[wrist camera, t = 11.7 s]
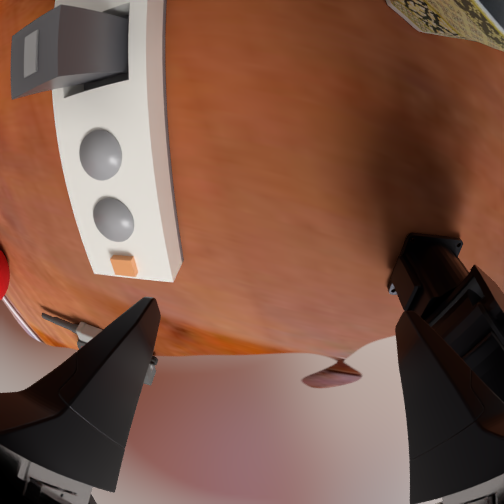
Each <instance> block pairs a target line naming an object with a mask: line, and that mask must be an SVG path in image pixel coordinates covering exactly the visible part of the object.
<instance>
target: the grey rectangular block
mask: <svg viewBox="0 0 504 504" xmlns="http://www.w3.org/2000/svg"><path fill="white" fill-rule="evenodd" d="M128 34H129V19H125V18H122V17H118V16H115V15H111V14H107V13H103V12H99V11H94V10H90V9H85V8H80V7H74V6H68V5H62V4H61V5H59V6H57V7H56V8H54V9H52V10H50V11H49V12H47V13H45V14H44V15H42V16H41V17H39V18H38V19H36V20H34V21H33V22H32V23H30V24H29V25H27V26H26V27H24V28H23V29H21V30H20V31H19V32H17V33H16V34H15V35H13V36H12V46H11V95H12V100H13V99H16V98H20V97H23V96H27V95H31V94H35V93H39V92H43V91H48V90H53V89H58V88H63V87H68V86H74V85H81V84H88V83H93V82H97V81H100V80H104V79H107V78H111V77H115V76H119V75H123V74H127V73H129V65H128Z"/></svg>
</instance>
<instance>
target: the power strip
mask: <svg viewBox="0 0 504 504" xmlns="http://www.w3.org/2000/svg"><path fill="white" fill-rule="evenodd" d="M61 4H62V5H68V6H74V7H80V8H85V9H90V10H94V11H99V12H103V13H107V14H111V15H115V16H118V17H122V18H125V19H129V34H128V65H129V73H127V74H123V75H119V76H115V77H111V78H107V79H104V80H100V81H97V82H93V83H88V84H81V85H74V86H68V87H63V88H58V89H53V90H52V96H53V108H54V118H55V126H56V133H57V140H58V146H59V152H60V157H61V162H62V167H63V172H64V177H65V181H66V185H67V190H68V194H69V198H70V201H71V205H72V209H73V212H74V216H75V219H76V223H77V226H78V229H79V232H80V235H81V238H82V241H83V244H84V247H85V250H86V253H87V256H88V258H89V261H90V264H91V267H92V269H93V272H94V274H102V275H110V276H118V277H127V278H136V279H145V280H155V281H165V282H174V280H175V278H176V275H177V273H178V271H179V269H180V267H181V265H182V262H183V260H184V259H183V253H182V246H181V240H180V233H179V226H178V219H177V212H176V204H175V196H174V187H173V178H172V169H171V158H170V147H169V134H168V120H167V102H166V75H165V24H166V0H55V7H54V8H56V7H57V6H59V5H61Z"/></svg>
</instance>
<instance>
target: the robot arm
mask: <svg viewBox="0 0 504 504" xmlns="http://www.w3.org/2000/svg"><path fill="white" fill-rule="evenodd" d="M412 238H413V240H411V239H412ZM410 240H411V241H410ZM462 245H463V242H462V240H461V239H460V238H454V237H446V236H437V235H428V234H419V233H410V234H408V235H407V237H406V240H405V243H404V246H403V249H402V252H401V255H400V256H399V258H398V260H397V263H396V266H395V269H394V271H393V274H392V277H391V281H390V284H389V286H388V291H389V293H390V294H393V295H398V297H399V300H400V302H401V305H402V307H403V309H404V312H403V313H402V315H401V317H400V319H399V321H398V323H397V325H396V329H395V332H396V341H397V351H398V363H399V371H400V376H401V383H402V389H403V395H404V403H405V410H406V418H407V429H408V441H409V457H410V504H417V503H421V502H426V501H430V500H434V499H438V498H441V497H442V499H443V501H442V502H439V503H437V504H504V294H503V292H502V291H501V290H500V288H499V287H498V285H497V284H496V283H495V282H494V281H493V280H492V279H491V278H490V277H489V276H487V275H486V274H485V273H484V272H483V271H482V270H481V269H480V268H479V267H477V266H476V265H474V266H473V267H472V268H471V269H470V270H471V271H470V272H468V270H467V269H466V268H465V266H464V265H463V263H462V262H461V261H460V259H459V258H458V255H459V253H460V250H461V248H462ZM392 289H393V290H392ZM160 317H161V315H160V311H159V308H158V304H157V301H156V299H155V298H152V297H143V298H142V299H141V300H139V301H138V302H137V303H136V304H134V305H133V306H132V307H131V308H129V309H128V310H127V311H126V312H124V313H123V314H122V315H121V316H119V317H118V318H117V319H116V320H114V321H113V322H112V323H111V324H109V325H108V326H107V327H106V328H105V329H103V330H102V331H101V332H100V333H98V334H97V335H96V336H95V337H94V338H92V339H91V340H90V341H89V342H88V343H86V344H85V345H84V346H83V347H81V348H80V349H79V350H78V351H77V352H76V353H74V354H73V355H72V356H71V357H70V358H68V359H67V360H66V361H65V362H63V363H62V364H61V365H60V366H58V367H57V368H55V369H54V370H53V371H52V372H50V373H49V374H47V375H46V376H44V377H43V378H41V379H40V380H39V381H37V382H36V383H34V384H33V385H31V386H30V387H28V388H27V389H25V390H22V391H19V392H12V393H11V392H10V393H0V504H96V502H95V500H94V498H93V497H92V495H91V491H92V487H96V488H99V489H103V490H106V491H110V492H115V489H116V485H117V480H118V476H119V471H120V467H121V462H122V458H123V455H124V451H125V449H124V448H125V446H126V442H127V439H128V435H129V431H130V427H131V424H132V420H133V417H134V413H135V410H136V406H137V403H138V399H139V396H140V393H141V389H142V386H143V383H144V380H145V377H146V374H147V370H148V367H149V364H150V361H151V358H152V355H153V350H154V346H155V341H156V336H157V332H158V327H159V323H160Z"/></svg>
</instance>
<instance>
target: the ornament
mask: <svg viewBox="0 0 504 504" xmlns="http://www.w3.org/2000/svg"><path fill="white" fill-rule="evenodd" d="M9 279H10V272H9V266H8V262H7V260H6V257H5V255H4V254H3V252H2V251H1V250H0V300H1V299H2V298H3V296H4V295H5V293H6V291H7V289H8V285H9Z"/></svg>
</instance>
